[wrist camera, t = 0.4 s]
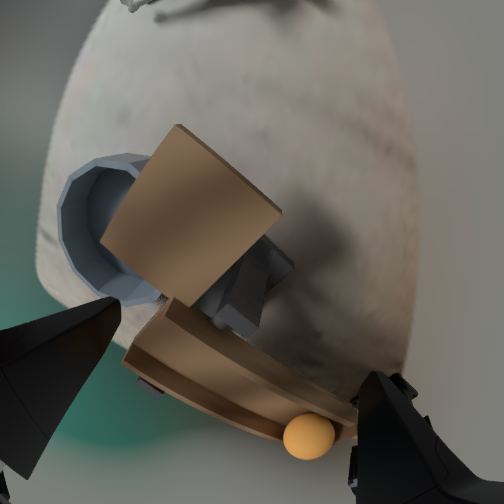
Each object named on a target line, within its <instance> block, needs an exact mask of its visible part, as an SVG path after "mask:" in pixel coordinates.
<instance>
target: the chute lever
mask: <svg viewBox="0 0 504 504" xmlns="http://www.w3.org/2000/svg"><path fill="white" fill-rule="evenodd" d="M281 217H282V210H281V209H280V208H279V207H278V206H277V205H275V204H274V203H273V202H272V201H271V200H270V199H269V198H268V197H267V196H265V195H264V194H263V193H262V192H261V191H260V190H259V189H258V188H256V187H255V186H254V185H253V184H252V183H251V182H250V181H249V180H247V179H246V178H245V177H244V176H243V175H242V174H240V173H239V172H238V171H237V170H236V169H235V168H233V167H232V166H231V165H230V164H229V163H228V162H226V161H225V160H224V159H223V158H222V157H221V156H219V155H218V154H217V153H216V152H215V151H213V150H212V149H211V148H210V147H209V146H207V145H206V144H205V143H204V142H202V141H201V140H200V139H199V138H198V137H196V136H195V135H194V134H193V133H191V132H190V131H189V130H188V129H186V128H185V127H184V126H183V125H181V124H176V125H174V127H173V128H172V129H171V131H170V132H169V133H168V135H167V136H166V137H165V139H164V140H163V141H162V143H161V144H160V145H159V147H158V148H157V150H156V151H155V152H154V154H153V155H152V157H151V158H150V159H149V161H148V162H147V164H146V165H145V167H144V168H143V170H142V171H141V173H140V174H139V176H138V177H137V179H136V180H135V182H134V183H133V185H132V186H131V188H130V190H129V191H128V193H127V194H126V196H125V198H124V199H123V201H122V203H121V204H120V206H119V208H118V209H117V211H116V213H115V215H114V216H113V218H112V220H111V222H110V223H109V225H108V227H107V229H106V231H105V233H104V234H103V236H102V238H101V240H100V243H101V244H102V245H104V246H105V247H106V248H107V249H108V250H109V251H111V252H112V253H113V254H114V255H115V256H116V257H118V258H119V259H120V260H121V261H122V262H124V263H125V264H126V265H127V266H128V267H130V268H131V269H132V270H133V271H135V272H136V273H137V274H138V275H139V276H141V277H142V278H143V279H145V280H146V281H147V282H148V283H150V284H151V285H152V286H153V287H155V288H156V289H157V290H159V291H160V292H161V293H163V294H164V295H165V296H167V297H168V298H169V299H168V300H167V301H166V303H165V304H164V305H163V306H162V307H161V308H160V309H159V310H158V312H157V313H156V314H155V315H154V316H153V317H152V318H151V319H150V321H149V322H148V323H147V324H146V325H145V326H144V327H143V329H142V330H141V331H140V332H139V333H138V334H137V336H136V337H135V338H134V340H133V342H132V344H131V345H130V347H129V348H128V350H127V352H126V354H125V356H124V358H123V360H122V362H121V364H122V365H123V366H125V367H127V368H128V369H129V370H131V371H132V372H134V373H136V374H137V375H139V376H140V377H142V378H143V379H145V380H146V381H148V382H150V383H151V384H153V385H155V386H156V387H158V388H160V389H161V390H163V391H165V392H167V393H168V394H170V395H172V396H174V397H176V398H178V399H179V400H181V401H183V402H185V403H187V404H189V405H191V406H193V407H195V408H197V409H199V410H201V411H203V412H205V413H207V414H209V415H211V416H213V417H215V418H217V419H220V420H222V421H224V422H226V423H228V424H231V425H234V426H236V427H238V428H240V429H243V430H245V431H248V432H250V433H253V434H255V435H258V436H261V437H263V438H266V439H269V440H272V441H275V442H278V443H281V444H283V445H284V441H283V435H284V431H285V429H286V427H287V425H288V424H289V423H290V422H291V421H292V420H293V419H294V418H296V417H298V416H300V415H303V414H307V413H315V414H319V415H322V416H324V417H325V418H327V419H328V420H329V421H330V422H331V424H332V425H333V427H334V431H335V438H334V442H333V444H332V445H335V444H337V443H340V442H342V441H344V440H347V439H349V438H352V437H354V436H356V435H357V424H358V417H357V411H356V409H354V408H352V404H351V403H349V402H348V401H346V400H344V399H342V398H340V397H338V396H336V395H334V394H333V393H331V392H329V391H327V390H325V389H324V388H322V387H320V386H318V385H316V384H315V383H313V382H311V381H309V380H308V379H306V378H304V377H303V376H301V375H299V374H297V373H296V372H294V371H292V370H291V369H289V368H287V367H286V366H284V365H282V364H281V363H279V362H278V361H276V360H274V359H273V358H271V357H270V356H268V355H266V354H265V353H263V352H262V351H260V350H258V349H257V348H255V347H254V346H252V345H251V344H249V343H248V342H246V341H245V340H243V339H242V338H240V337H239V336H237V335H236V334H234V333H233V332H231V331H230V330H228V329H227V327H228V326H229V325H228V324H226V323H225V322H224V321H223V320H221V319H220V318H219V317H217V316H216V315H214V316H213V317H212V318H211V317H210V316H208V315H207V314H205V313H204V312H202V311H201V310H200V309H198V308H197V307H196V306H194V305H193V303H194V302H195V301H196V300H197V299H198V298H199V297H200V296H201V295H202V294H203V293H204V292H205V291H206V290H207V289H208V288H209V287H210V286H211V285H213V284H214V283H215V282H216V281H217V280H218V279H219V278H220V277H221V276H222V275H223V274H224V273H225V272H226V271H227V270H228V269H229V268H230V267H231V266H232V265H233V264H234V263H235V262H236V261H237V260H238V259H239V258H240V257H241V256H242V255H243V254H244V253H245V252H246V251H247V250H248V249H249V248H250V247H251V246H252V245H253V244H254V243H255V242H256V241H257V240H258V239H259V238H260V237H261V236H262V235H263V234H264V233H265V232H266V231H267V230H268V229H269V228H270V227H271V226H273V225H274V224H275V223H276V222H277V221H278V220H279V219H280V218H281Z"/></svg>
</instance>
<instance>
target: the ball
mask: <svg viewBox="0 0 504 504" xmlns="http://www.w3.org/2000/svg"><path fill="white" fill-rule="evenodd" d="M334 438H335V431H334V427H333V425H332V424H331V422H330V421H329V420H328V419H327V418H325V417H324V416H322V415H319V414H315V413H307V414H303V415H300V416H298V417H296V418H294V419H293V420H292V421H291V422H290V423H289V424H288V425H287V427H286V429H285V431H284V435H283V441H284V445H285V447H286V449H287V450H288V452H289V453H291V454H292V455H293V456H295V457H297V458H300V459H306V460H308V459H315V458H318V457H320V456H322V455H324V454H325V453H326V452H327V451H328V450H329V449H330V448H331V446H332V444H333V442H334Z"/></svg>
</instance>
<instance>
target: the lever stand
mask: <svg viewBox="0 0 504 504" xmlns="http://www.w3.org/2000/svg"><path fill="white" fill-rule="evenodd" d="M292 270H294V263H293V262H292V261H291V260H290V259H289V258H288V257H287V256H286V255H285V254H284V253H283V252H282V251H281V250H279V249H278V248H277V247H276V246H275V245H274V244H273V243H272V242H271V241H270V240H269V239H268V238H266V237H265V236H264V235H262V236H261V237H260V238H259V239H258V240H257V241H256V242H255V243H254V244H253V245H252V246H251V247H250V248H249V249H248V250H247V251H246V252H245V253H244V254H243V255H242V256H241V257H240V258H239V259H238V260H237V261H236V262H235V263H234V264H233V265H232V266H231V267H230V268H229V269H228V270H227V271H226V272H225V273H224V274H223V275H222V276H221V277H220V278H219V279H218V280H217V281H216V282H215V283H214V284H213V285H211V286H210V287H209V288H208V289H207V290H206V291H205V292H204V293H203V294H202V295H201V296H200V297H199V298H198V299H197V300H196V301H195V302H194V303H193V305H194V306H196V307H197V308H198V309H200V310H201V311H202V312H204V313H205V314H207V315H208V316H210V317H211V318H212V317H213V316H214V315H216V316H217V317H219V318H220V319H221V320H223V321H224V322H225V323H226V324H228V325H229V326H230V327H231V328H233V329H234V330H235V331H237V332H238V333H239V334H241V335H242V336H243V337H245V338H246V337H248V336H249V335H250V334H252V333H253V332H254V331H256V330H257V329H258V328H259V324H260V318H261V312H262V307H263V301H264V295H265V294H266V293H267V292H268V291H269V290H270V289H272V288H273V287H274V286H275V285H276V284H277V283H279V282H280V281H281V280H282V279H283V278H284V277H285V276H287V275H288V274H289V273H290V272H291V271H292ZM136 384H137V385H139V386H140V387H141V388H143V389H144V390H146V391H147V392H148V393H150V394H151V395H153V396H154V397H156V398H159V397H160V396H162V395H163V394H164V392H165V391H163V390H161V389H160V388H158V387H156V386H155V385H153V384H151V383H150V382H148V381H146V380H145V379H143V378H142V377H140V376H139V378H138V380H137V381H136Z"/></svg>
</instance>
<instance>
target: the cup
mask: <svg viewBox="0 0 504 504" xmlns="http://www.w3.org/2000/svg"><path fill="white" fill-rule="evenodd" d="M150 158H151V156H144V155H137V154H129V153H124V154H117V155H112V156H106V157H101V158H96V159H94V160H92V161H90V162H89V163H87V164H86V165H84V166H83V167H81V168H80V169H78V170H77V171H75V172H74V173H72V174H71V175H69V177H68V179H67V182H66V184H65V186H64V189H63V191H62V194H61V196H60V199H59V201H58V204H57V221H58V236H59V242H60V244H61V246H62V249H63V251H64V253H65V255H66V257H67V260H68V262H69V264H70V266H71V268H72V270H73V271H74V273H75V274H76V275H77V276H78V277H79V278H80V279H81V280H82V281H83V282H84V283H85V284H86V285H87V286H88V287H89V288H90V289H91V290H92V291H93V292H94V293H95V294H96V295H97V296H99V297H102V298H105V297H108V296H112V297H114V298H117V299H119V300H120V302H121V305H122V306H125V307H128V306H134V305H139V304H145V303H150V302H155V301H156V300H157V298H158V297H159V296H160V295H161V294H162V293H161V292H160V291H159V290H157V289H156V288H155V287H153V286H152V285H151V284H150V283H148V282H147V281H146V280H145V279H143V278H142V277H141V276H139V275H138V274H137V273H136V272H135V271H133V270H132V269H131V268H130V267H128V266H127V265H126V264H125V263H124V262H122V261H121V260H120V259H119V258H118V257H116V256H115V255H114V254H113V253H112V252H111V251H109V250H108V249H107V248H106V247H105V246H104V245H102V244H101V243H100V240H101V238H102V236H103V234H104V233H105V231H106V229H107V227H108V225H109V223H110V222H111V220H112V218H113V216H114V215H115V213H116V211H117V209H118V208H119V206H120V204H121V203H122V201H123V199H124V198H125V196H126V194H127V193H128V191H129V190H130V188H131V186H132V185H133V183H134V182H135V180H136V179H137V177H138V176H139V174H140V173H141V171H142V170H143V168H144V167H145V165H146V164H147V162H148V161H149V159H150Z"/></svg>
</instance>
